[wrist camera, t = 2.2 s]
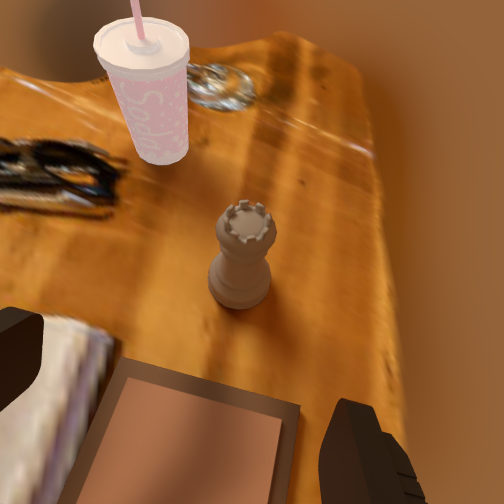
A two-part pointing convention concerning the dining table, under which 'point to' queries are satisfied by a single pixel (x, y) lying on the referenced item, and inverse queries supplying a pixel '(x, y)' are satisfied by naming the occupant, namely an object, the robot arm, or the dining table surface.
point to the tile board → (183, 443)
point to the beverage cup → (149, 82)
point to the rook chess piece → (242, 256)
